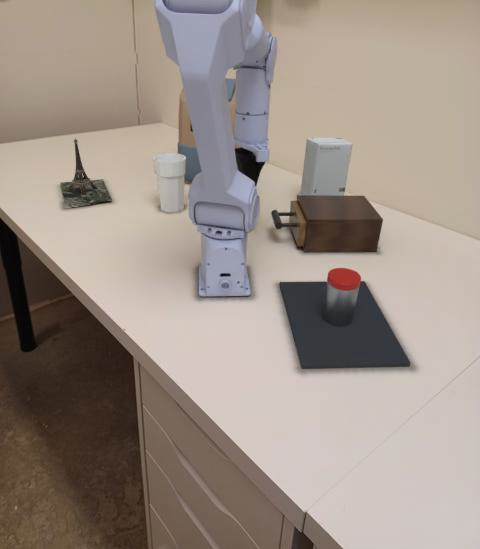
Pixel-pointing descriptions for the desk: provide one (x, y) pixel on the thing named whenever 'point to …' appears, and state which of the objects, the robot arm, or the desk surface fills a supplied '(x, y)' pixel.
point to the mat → (340, 331)
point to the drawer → (292, 222)
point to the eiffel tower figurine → (83, 187)
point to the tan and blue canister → (187, 137)
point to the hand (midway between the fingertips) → (248, 189)
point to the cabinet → (340, 223)
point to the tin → (341, 296)
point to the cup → (170, 180)
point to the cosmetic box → (325, 166)
